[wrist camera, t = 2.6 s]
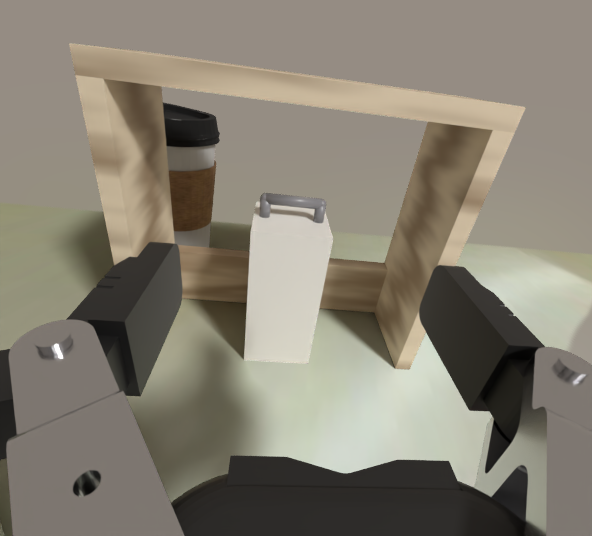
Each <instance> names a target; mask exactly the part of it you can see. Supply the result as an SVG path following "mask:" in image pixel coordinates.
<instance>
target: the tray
mask: <svg viewBox="0 0 592 536" xmlns="http://www.w3.org/2000/svg"><path fill="white" fill-rule="evenodd" d="M0 536H4V533H3V529H2V525H1V522H0Z"/></svg>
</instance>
